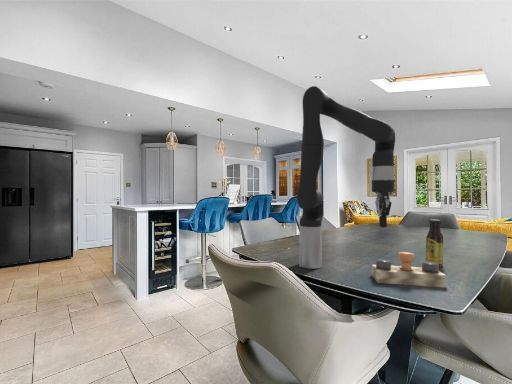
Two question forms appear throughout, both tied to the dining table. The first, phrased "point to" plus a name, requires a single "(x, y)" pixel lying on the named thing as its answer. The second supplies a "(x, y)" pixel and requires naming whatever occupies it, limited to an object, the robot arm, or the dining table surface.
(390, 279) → the knob mount
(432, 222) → the sauce bottle
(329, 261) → the dining table surface
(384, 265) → the left knob
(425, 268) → the right knob
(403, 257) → the middle knob
